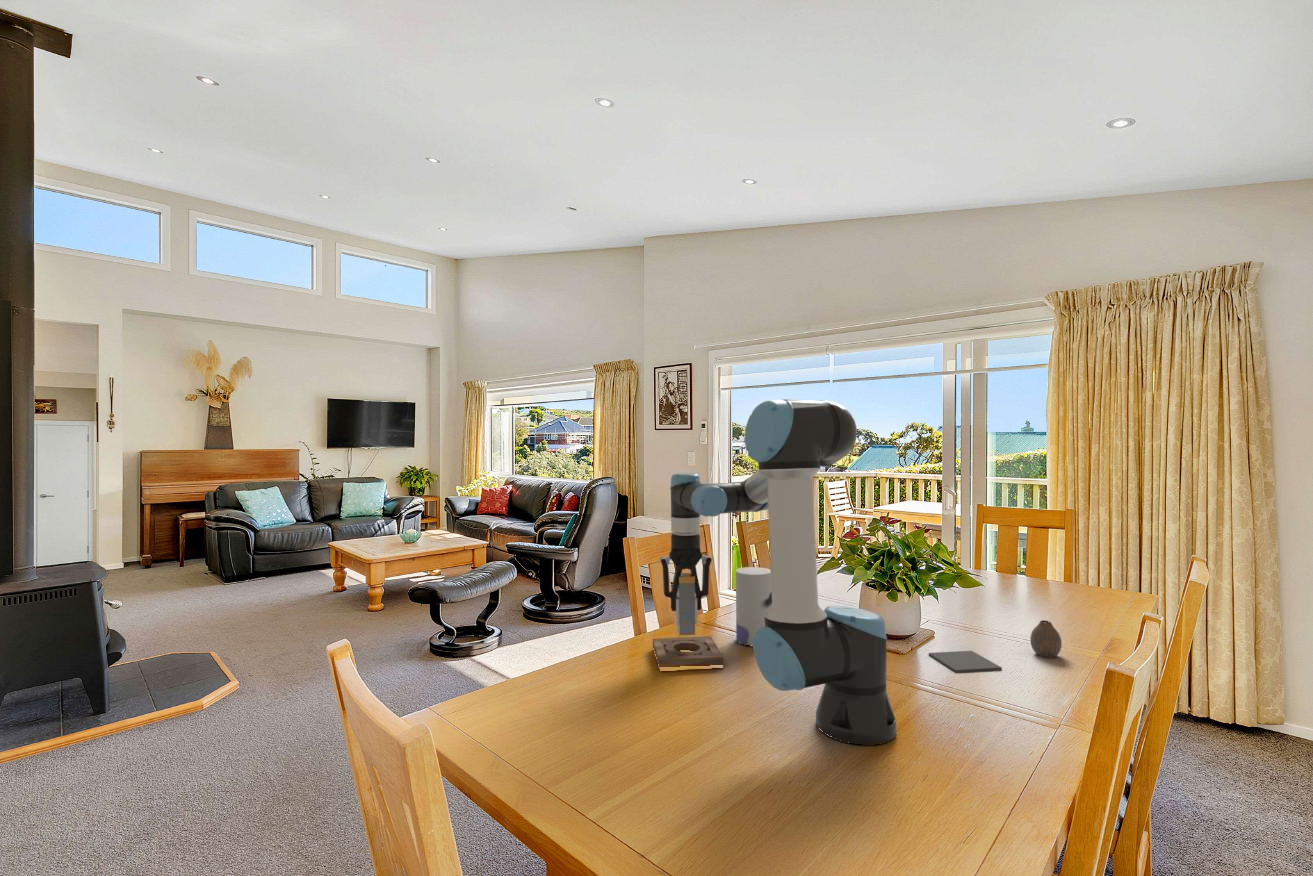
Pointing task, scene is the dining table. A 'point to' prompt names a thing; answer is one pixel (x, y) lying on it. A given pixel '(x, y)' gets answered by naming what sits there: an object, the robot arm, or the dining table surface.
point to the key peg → (686, 604)
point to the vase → (1045, 640)
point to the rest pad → (964, 661)
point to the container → (751, 601)
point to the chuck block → (701, 655)
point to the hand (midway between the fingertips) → (686, 622)
